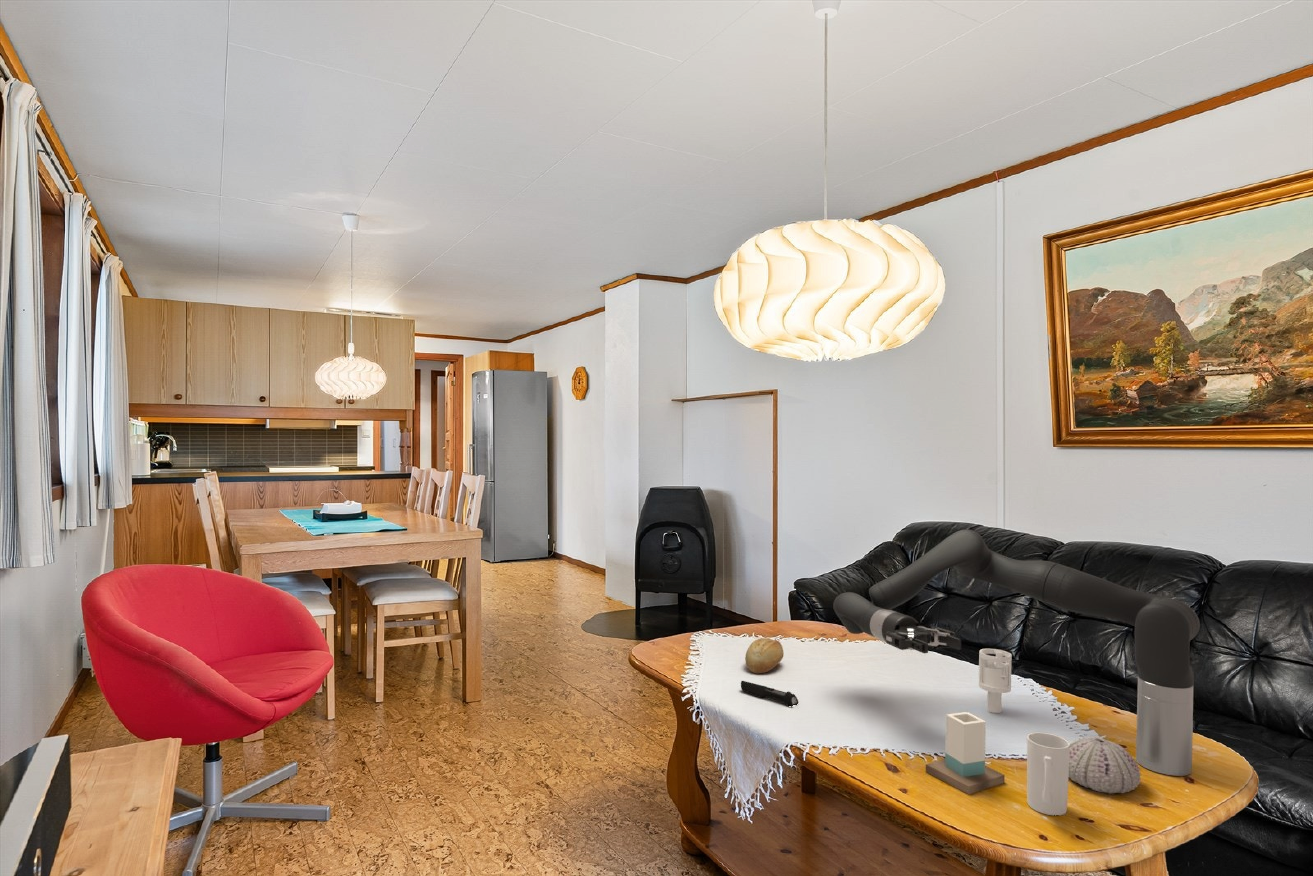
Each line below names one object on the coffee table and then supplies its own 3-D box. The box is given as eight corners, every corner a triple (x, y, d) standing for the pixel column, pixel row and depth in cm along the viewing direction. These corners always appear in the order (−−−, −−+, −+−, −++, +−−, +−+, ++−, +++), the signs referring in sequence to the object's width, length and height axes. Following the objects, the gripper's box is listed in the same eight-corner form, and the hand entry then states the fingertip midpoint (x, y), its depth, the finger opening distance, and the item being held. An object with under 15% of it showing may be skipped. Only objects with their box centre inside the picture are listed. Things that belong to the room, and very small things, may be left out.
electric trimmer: (745, 690, 191) (745, 678, 191) (799, 704, 181) (799, 691, 181) (737, 694, 188) (737, 681, 188) (791, 709, 178) (791, 696, 178)
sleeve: (966, 762, 147) (967, 711, 147) (984, 773, 142) (985, 721, 142) (945, 765, 146) (946, 714, 145) (963, 777, 141) (964, 724, 141)
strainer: (982, 715, 175) (983, 651, 175) (974, 704, 182) (975, 643, 182) (1014, 717, 174) (1015, 653, 174) (1005, 706, 181) (1006, 644, 181)
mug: (1026, 794, 138) (1027, 729, 138) (1068, 803, 135) (1069, 737, 134) (1024, 819, 129) (1025, 750, 129) (1068, 829, 126) (1070, 759, 125)
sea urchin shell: (1156, 789, 140) (1157, 747, 140) (1114, 806, 134) (1115, 761, 134) (1086, 761, 152) (1087, 722, 152) (1045, 775, 146) (1045, 734, 146)
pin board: (960, 761, 151) (961, 729, 151) (1004, 782, 142) (1005, 748, 142) (925, 772, 146) (926, 739, 146) (968, 794, 137) (969, 759, 137)
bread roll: (789, 663, 213) (790, 635, 213) (773, 678, 199) (773, 648, 199) (757, 657, 217) (757, 630, 217) (739, 672, 204) (739, 643, 204)
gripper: (868, 614, 170) (915, 631, 154) (919, 609, 174) (970, 625, 159) (868, 647, 169) (915, 668, 154) (919, 641, 174) (970, 661, 159)
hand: (943, 646), depth 157 cm, fingers open, 8 cm apart
